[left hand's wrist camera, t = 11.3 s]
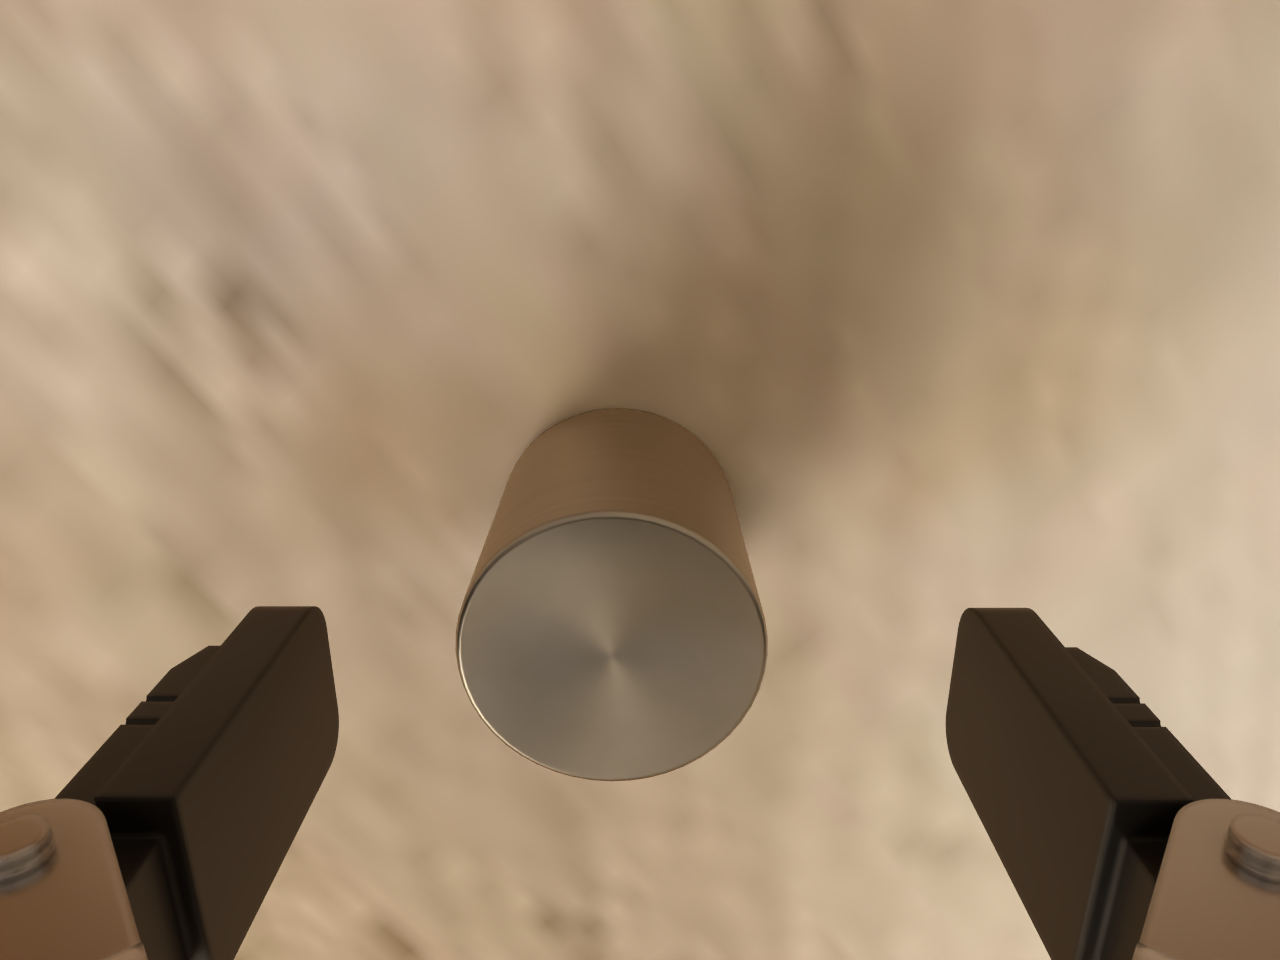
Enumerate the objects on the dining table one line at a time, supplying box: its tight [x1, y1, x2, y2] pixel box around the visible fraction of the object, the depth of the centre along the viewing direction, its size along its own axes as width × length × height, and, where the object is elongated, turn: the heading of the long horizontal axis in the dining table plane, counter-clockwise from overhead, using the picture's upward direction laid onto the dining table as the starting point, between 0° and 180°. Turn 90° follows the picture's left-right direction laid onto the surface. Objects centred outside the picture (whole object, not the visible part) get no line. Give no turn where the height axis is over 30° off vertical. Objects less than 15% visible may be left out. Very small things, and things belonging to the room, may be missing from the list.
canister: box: [456, 409, 767, 781], centre depth 13 cm, size 4×4×4 cm
